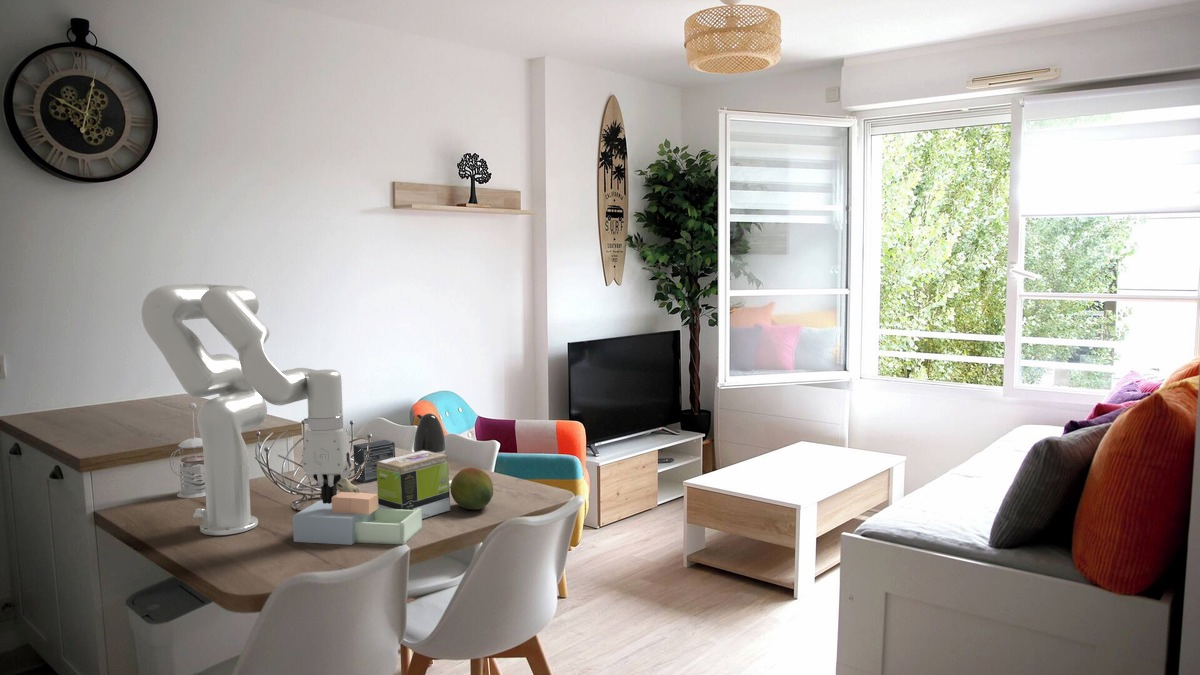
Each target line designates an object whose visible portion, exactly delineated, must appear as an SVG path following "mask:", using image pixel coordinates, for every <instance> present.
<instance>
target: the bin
mask: <svg viewBox="0 0 1200 675" xmlns="http://www.w3.org/2000/svg"><path fill="white" fill-rule="evenodd" d="M374 515H375V519H374V520H372V521H371V522H355V543H365V544H381V545H382V544H384V545H385V544H386V545H399V544H404V545H406V543H408V542H409V541H410V540H411V539H413V537H415V536H416V535H417V534H418V533H420V532H421V530H422V529H423V519H422V508H418V509H417V510H403V509H381V508H379V507H378V509H377V510H375V511H374ZM407 541H408V542H407Z"/></svg>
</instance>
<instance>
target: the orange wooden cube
mask: <svg viewBox="0 0 1200 675" xmlns="http://www.w3.org/2000/svg"><path fill="white" fill-rule="evenodd" d="M356 494H358V493H355V492H340V491H339V493H338V492H337V494H336V495H335V496H333V497H332V512H337V513H350V498H351V497H353V496H355V495H356Z"/></svg>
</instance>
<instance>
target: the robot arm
mask: <svg viewBox="0 0 1200 675" xmlns="http://www.w3.org/2000/svg"><path fill="white" fill-rule="evenodd" d="M259 304H260V303H259V300H258V298H257V295H256V294H255V293H254V292H253V291H252V289H250V288H248V287H246V286H243V285H223V284H210V283H209V284H208V283H207V284H205V283H193V284H188V283H187V284H168V285H162V286H159V287H158V286H157V287H156V288H154V289H152V290H151V291H150V292H148V293H147V295H146V296H145V298H144V300H143V302H142V306H141V321H142V324H143V327H144V329H145V331H146V333H147V334H148V336H149V338H150V339H151V340H152V342H153V343H154V344H155V346H156V347H157V348H158V350H159V351H160V352H161V354H162V355H163V357H164V358H165V360H166V362H167V364H168V365H169V367H170V369H171V371H172V372H173V373H174V375H175V377H176V379H177V381H179V384H180V385H181V387H182V388H183V389H184V390H185V392H186V394H188V395H189V396H191V397H193V398H205V397H210V396H214V395H218V396H217V397H213V398H211V399H209V400H207V401H206V402H205V403H203V405H202V406H201V407H200V409H199V410H198V413H197V427H198V431H199V435H200V438H201V439H202V444H203V447H202V450H203V454H202V455H204V465H203V466H204V469H205V479H204V480H205V490H206V496H205V505H206V508H198V507H197V508H196V509H195V510H194V513H193V515H192V518H193V519H195V520H202V523H201V524H200V525H199V531H200V533H201V534H204V535H207V536H229V535H230V536H231V535H236V534H239V533H243V532H248V531H250V530H252V529H254V528H256V527H257V526H258V524H259V520H258V519H259V518H257V517H256V516H254V515H252V514H251V497H250V496H251V494H250V472H249V470H250V467H249V453H248V447H247V444H246V442H245V440H244V438H243V435H242V433H243V432H245V431H249V430H252V429H254V428H257V427H259V426H260V425H261V424H263V423H264V421H265V420H266V418H267V414H268V410H267V408H268V407H267V404H266V402H267V403H268V404H271V405H273V406H278V407H279V406H285V405H289V404H293V403H295V402H300V401H304V400H307V418H305V417H304V419H303V424H304V425H307V429H305V432H304V436H303V443H302V461H301V462H302V471H303V472H304V474H305V476H306V477H307V478H311V479H314V480H315V481H316V482H317V483H318V487H320V490H321V491H320V493H321V494H320V495H321V499H322V501H323V503H324V504H326V503H328V504H330V503H332V497H333V496H335V495H336V494H338V488H337V486H336V484H337V483H338V482H339V481H340V480H341V479H344V478H347V479H348V478H349V477H351V476H352V472H351V468H352V453H351V446H350V440H349V435H348V432H347V429H346V427H345V428H344V415H343V414H344V413H343V392H342V391H343V389H342V388H343V386H342V383H343V382H342V374H341V372H340V371H338V370H336V369H312V368H306V367H296V368H291V369H286V370H280V369H278V368H277V366H275V364H274V363H273V362H272V361H271V359H269V358H268V355H267V354H266V352H265V349H264V344H265V343H266V342H267V341H268V339H269V337H270V330H269V328H268V327H267V325H266V324H264V322H262V320H261V319H260V318H259V317H258V316H257V313H258V311H259V306H260V305H259ZM198 319H200V320H201V319H207V320H208V322H209V323H210V324H212V326H213V327H214V328H215V329H216V330H217V332H218V333H220V335H222V337H223V338H224V339H225V340H226V341H227V343H228V344H230V345H231V347H232V348H234V350H235V351H236V352H237V355H238V358H237V357H235V356H233V355H231V354H227V353H217V354H210V352H209V351H208V349H206V347H205V346H204V344H203V343H202V340H201V339H200V337H199V336H198V335H197V334H196V333H195V332H194V331H193V330H192V329H190V328H189V327H188V326H186V325H185V324H184V323H183V321H187V320H198Z"/></svg>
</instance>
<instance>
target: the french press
mask: <svg viewBox="0 0 1200 675" xmlns="http://www.w3.org/2000/svg"><path fill="white" fill-rule="evenodd" d="M188 408H190V409H192V410H194V408H197V404H196V403H194V402H192V403H190V404H189V405H188ZM192 424H193V430H195V417H194V411H192ZM195 435H196V434H195V431H193V437H192V438H188V439H185V440H183V441H182V442H180V443H178V444H177V446H178V447H179V448H178V449H176V450H174V451H173V452H172V453H171V455H170V457H169V467H170V470H171V471H172V473H174V474H175V475H176V476H179V479H180V480H179V482H180V491H179V492H178V493H177V494H176V496H177V497H178V498H185V499H194V498H201V497H206V490H205V469H204V454H202V455H201V454H200V455H198V454H197V453H196V452H197V451H194V455H190V456H185V457H182V458H181V459H180V462H181V463H182V464H179V470H178V469H177V467H176V465H175V456H176V454H177V453H178V454H179V455H182V454H183V453H184V449H194V450H196V449H199V448H203V444H202V439H201V437H196V436H195ZM196 454H197V455H196ZM171 460H172V461H171ZM171 462H172V463H171ZM172 465H173V467H174V469H173V467H172ZM197 465H198V466H197ZM199 465H200V466H199ZM175 471H176V472H175ZM177 472H178V473H179V474H178V473H177Z"/></svg>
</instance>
